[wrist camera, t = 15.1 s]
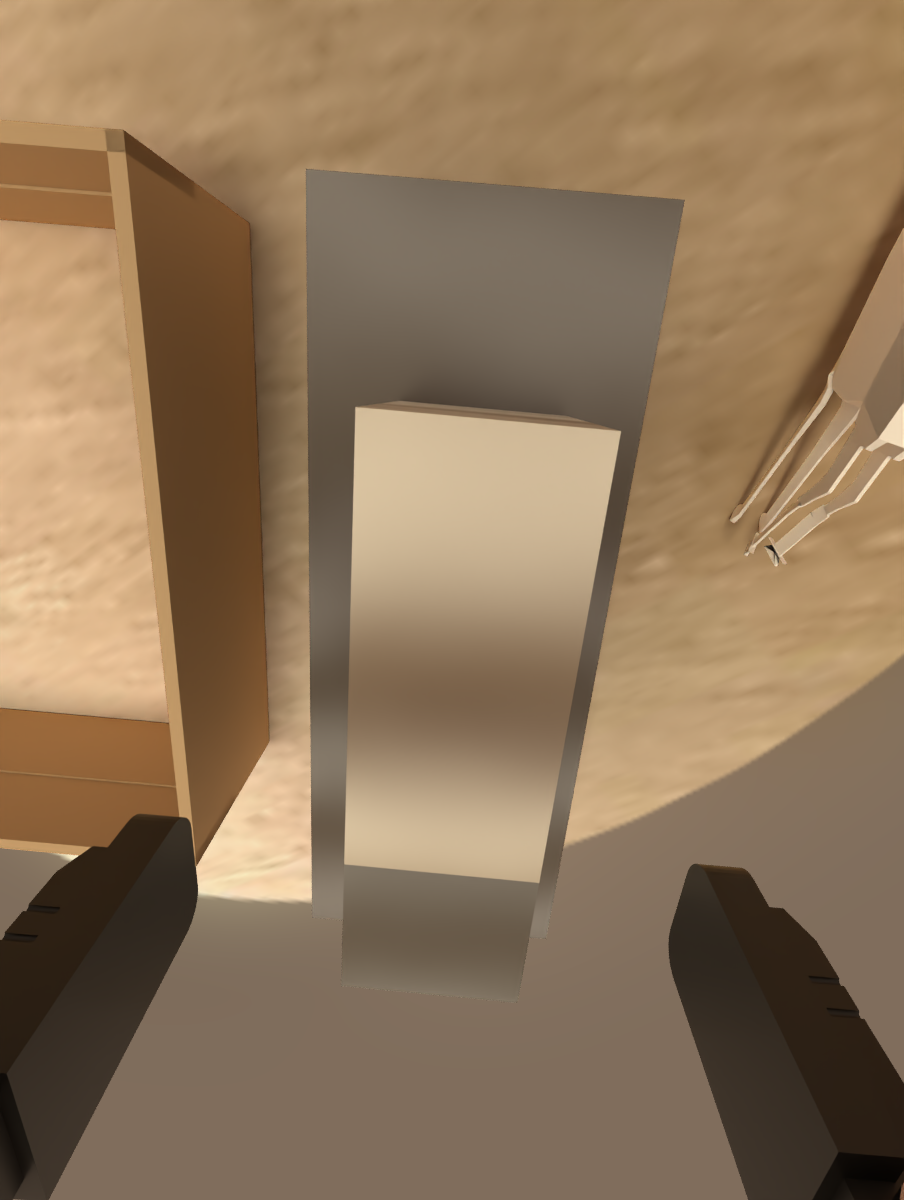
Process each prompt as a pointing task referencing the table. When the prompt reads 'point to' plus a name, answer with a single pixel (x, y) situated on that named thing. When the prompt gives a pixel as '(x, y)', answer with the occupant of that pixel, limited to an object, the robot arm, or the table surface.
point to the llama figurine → (850, 413)
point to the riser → (465, 390)
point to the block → (461, 682)
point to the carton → (158, 501)
